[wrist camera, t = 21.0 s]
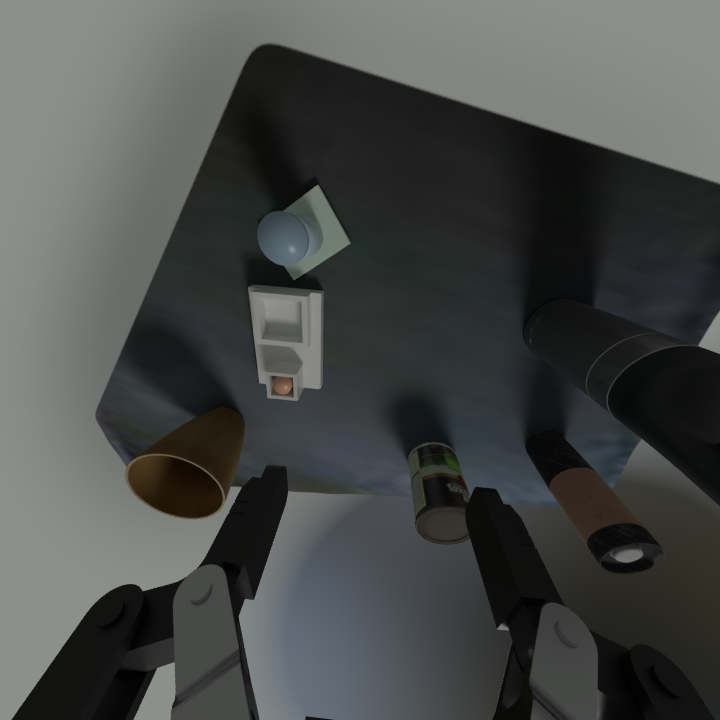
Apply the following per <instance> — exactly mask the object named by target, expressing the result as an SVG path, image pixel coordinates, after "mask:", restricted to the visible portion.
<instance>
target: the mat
mask: <svg viewBox="0 0 720 720" xmlns="http://www.w3.org/2000/svg"><path fill="white" fill-rule="evenodd" d="M283 212H288V213H291V214H297V215H303V216H309V217H311V218H313V219H315V220H316V221H317V222H318V223H319V225H320V226H321V228H322V231H323V244H322V246H321V248H320V250H319V251H318V252H317V253H315V254H313V255H311V256H308V257H306V258H304V259H301V260H300V261H299V262H297V263H295V264H292V265H288V266H284V267H285V268H286V269H287V271H288V272H289V274H290V275H291V277H292V278H293V280H296V279H297V278H299V277H300V276H302V275H303V274H305V273H306V272H308V271H309V270H311V269H312V268H314V267H315V266H317V265H318V264H320V263H321V262H323V261H325V260H326V259H328V258H329V257H331V256H332V255H334V254H335V253H337V252H338V251H340V250H341V249H343V248H344V247H346V246H347V245H349V244H350V243H351V242H350V240H349V238H348V236H347V235H346V233H345V231H344V229H343V227H342V226H341V224H340V222H339V220H338V218H337V217H336V215H335V213H334V211H333V209H332V207H331V206H330V204H329V202H328V200H327V198H326V197H325V195H324V193H323V191H322V189H321V188H320V186H319V185H317V186H315V187H314V188H313V189H311V190H310V191H309V192H307V193H306V194H305V195H303V196H302V197H301V198H300V199H298V200H297V201H296V202H294V203H293V204H292V205H290V206H289V207H288V208H286V209H285V210H284V211H283Z"/></svg>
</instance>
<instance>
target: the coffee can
mask: <svg viewBox="0 0 720 720" xmlns="http://www.w3.org/2000/svg"><path fill="white" fill-rule="evenodd" d="M408 464H409V470H410V478H411V487H412V495H413V502H414V512H415V520H416V521H415V525H416V526H415V527H416V530H417V532H418V534H419V535H420V536H421V537H422V538H424V539H425V540H427V541H429V542H432V543H436V544H457V543H461V542H464V541H466V540H468V539H470V536H469V532H468V529H467V526H466V520H465V511H466V507H467V505H468V502H469V500H470V495H469V492H468V489H467V486H466V483H465V480H464V478H463V475H462V472H461V469H460V465H459V462H458V459H457V455H456V453H455V451H454V450H453V449H452V448H451V447H450V446H448V445H446V444H444V443H440V442H427V443H423V444H420V445H418V446H417V447H415V448H414V449H413V450H412V451H411V452H410V454H409V457H408Z"/></svg>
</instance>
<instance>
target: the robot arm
mask: <svg viewBox="0 0 720 720" xmlns="http://www.w3.org/2000/svg"><path fill="white" fill-rule="evenodd" d="M524 340H525V343H526V345H527V346H528V347H529V348H530V349H531V350H532V351H533V352H534V353H536V354H537V355H538V356H539V357H540V358H542V359H543V360H544V361H545V362H547V363H548V364H549V365H550V366H552V367H553V368H554V369H555V370H556V371H558V372H559V373H560V374H561V375H563V376H564V377H565V378H566V379H568V380H569V381H570V382H571V383H573V384H574V385H575V386H576V387H578V388H579V389H580V390H581V391H583V392H584V393H585V394H586V395H588V396H589V397H590V398H591V399H593V400H594V401H595V402H597V403H598V404H599V405H600V406H602V407H603V408H604V409H605V410H607V411H608V412H609V413H610V414H612V415H613V416H614V417H615V418H616V419H618V420H619V421H620V422H621V423H623V424H624V425H625V426H627V427H628V428H629V429H630V430H632V431H633V432H634V433H635V434H637V435H638V436H639V437H641V438H642V439H643V440H644V441H646V442H647V443H648V444H649V445H650V446H652V447H653V448H654V449H655V450H657V451H658V452H659V453H660V454H661V455H663V456H664V457H665V458H666V459H667V460H668V461H670V462H671V463H672V464H673V465H674V466H675V467H676V468H678V469H679V470H680V471H681V472H683V474H685V475H686V476H687V477H688V478H689V479H690V480H691V481H692V482H694V483H695V484H696V485H697V486H698V487H699V488H700V489H701V490H702V491H703V492H705V493H706V494H707V495H708V496H709V497H710V498H711V499H712V500H713V501H715V502H716V503H717V504H718V505H719V506H720V354H718V353H715V352H712V351H710V350H707V349H704V348H701V347H699V346H696V345H694V344H691V343H688V342H686V341H683V340H680V339H678V338H675V337H672V336H670V335H666V334H664V333H661V332H658V331H656V330H653V329H650V328H648V327H645V326H642V325H640V324H637V323H634V322H632V321H629V320H626V319H624V318H621V317H618V316H616V315H613V314H610V313H608V312H605V311H602V310H600V309H597V308H595V307H592V306H589V305H586V304H584V303H581V302H578V301H575V300H572V299H557V300H554V301H550V302H548V303H546V304H544V305H543V306H541V307H540V308H538V309H537V310H536V311H535V312H534V313H533V314H532V315H531V316H530V318H529V319H528V321H527V323H526V325H525V328H524ZM287 496H288V482H287V470H286V467H285V466H277V465H267V466H266V468H265V470H264V472H263V474H262V477H261V478H257V477H252V478H251V479H250V480H249V481H248V482H247V483H246V484H245V485H244V486H243V487H242V488H241V491H240V492H239V494H238V496H237V498H236V500H235V503H234V504H233V505H232V507H231V509H230V511H229V514H228V515H227V517H226V519H225V521H224V523H223V525H222V527H221V528H220V530H219V532H218V534H217V536H216V538H215V540H214V542H213V544H212V546H211V548H210V549H209V551H208V553H207V556H206V557H205V559H204V560H203V562H202V563H201V564H200V565H199V567H198V568H197V569H196V570H195V571H193V572H192V573H191V574H189V575H188V576H187V577H185V578H184V579H182V580H180V581H178V582H175V583H172V584H169V585H165V586H161V587H157V588H154V589H150V590H147V591H142V589H141V588H140V587H139V586H137V585H134V584H127V585H122V586H120V587H117V588H115V589H113V590H111V591H110V592H108V593H107V594H105V595H104V596H103V597H101V598H100V599H99V600H98V601H97V602H96V603H95V604H94V605H93V606H92V607H91V608H90V610H89V611H88V612H87V613H86V615H85V616H84V618H83V619H82V620H81V622H80V623H79V625H78V626H77V628H76V629H75V630H74V632H73V633H72V635H71V636H70V638H69V639H68V640H67V642H66V643H65V645H64V646H63V647H62V649H61V650H60V652H59V653H58V655H57V656H56V657H55V659H54V660H53V662H52V663H51V664H50V666H49V667H48V669H47V670H46V672H45V673H44V674H43V676H42V677H41V679H40V680H39V681H38V683H37V684H36V686H35V687H34V689H33V690H32V691H31V693H30V694H29V696H28V697H27V698H26V700H25V701H24V703H23V704H22V706H21V707H20V708H19V710H18V711H17V713H16V714H15V716H14V717H13V719H12V720H133V719H134V717H135V715H136V713H137V711H138V709H139V706H140V704H141V702H142V700H143V698H144V696H145V693H146V691H147V689H148V687H149V685H150V682H151V680H152V678H153V676H154V674H155V671H156V669H157V668H158V667H161V666H164V665H167V664H170V663H173V662H175V682H176V694H175V701H174V703H173V705H172V710H171V720H259V715H258V710H257V705H256V700H255V696H254V692H253V688H252V683H251V678H250V673H249V668H248V664H247V658H246V653H245V648H244V642H243V637H242V633H241V627H240V622H239V614H240V611H241V608H242V605H243V603H244V600H245V599H251V600H254V598H255V595H256V591H257V589H258V586H259V583H260V580H261V577H262V574H263V571H264V567H265V565H266V562H267V559H268V556H269V553H270V550H271V547H272V544H273V541H274V538H275V535H276V532H277V529H278V526H279V523H280V520H281V517H282V514H283V511H284V508H285V505H286V501H287ZM465 520H466V526H467V529H468V532H469V536H470V539H471V543H472V546H473V549H474V553H475V556H476V559H477V563H478V566H479V569H480V573H481V576H482V580H483V583H484V586H485V590H486V593H487V596H488V600H489V603H490V607H491V610H492V613H493V617H494V620H495V624H496V627H497V629H500V630H509V631H510V635H511V638H512V641H513V642H512V644H511V647H510V651H509V655H508V660H507V664H506V668H505V672H504V676H503V681H502V685H501V689H500V694H499V698H498V702H497V706H496V710H495V713H494V716H493V718H492V720H715V719H714V717H713V716H712V714H711V713H710V711H709V710H708V708H707V707H706V705H705V704H704V702H703V701H702V699H701V698H700V696H699V695H698V693H697V691H696V690H695V688H694V687H693V685H692V684H691V683H690V681H689V680H688V679H687V677H686V676H685V675H684V673H683V672H682V671H681V670H680V669H679V668H678V667H677V666H676V665H675V664H674V663H673V662H672V661H671V660H670V659H668V658H667V657H666V656H665V655H663V654H662V653H661V652H659V651H657V650H655V649H654V648H652V647H650V646H647V645H644V644H638V645H635V646H633V647H632V648H630V649H627V648H625V647H623V646H621V645H619V644H617V643H615V642H613V641H611V640H609V639H607V638H605V637H603V636H600V635H598V634H596V633H595V632H593V631H591V630H589V629H588V628H587V627H586V626H585V624H584V623H583V622H582V621H581V619H580V618H579V617H578V616H576V615H575V613H573V612H572V611H571V610H569V609H568V608H567V607H566V606H565V604H564V603H563V601H562V600H561V598H560V596H559V594H558V592H557V590H556V588H555V586H554V584H553V582H552V580H551V578H550V576H549V574H548V572H547V570H546V568H545V566H544V563H543V561H542V559H541V557H540V555H539V553H538V551H537V549H535V545H534V543H533V541H532V539H531V537H530V536H529V535H528V531H527V529H526V527H525V525H524V523H523V521H522V519H521V517H520V516H519V515H518V514H517V513H516V511H515V510H514V509H513V508H512V507H511V506H510V505H506V504H503V502H502V500H501V497H500V495H499V493H498V492H497V490H495V489H491V488H482V487H475V488H474V490H473V493H472V495H471V498H470V500H469V502H468V505H467V507H466V511H465ZM306 720H331V719H323V718H315V717H307V716H306Z"/></svg>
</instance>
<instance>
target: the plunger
mask: <svg viewBox="0 0 720 720" xmlns="http://www.w3.org/2000/svg"><path fill="white" fill-rule="evenodd" d="M292 387H293V378H291V377H281V376H277V377H276V379H275V380H274V382H273V388H274V390H275V391H276V392H277V393H279V394H287V393H289V392H290V390H291V388H292Z"/></svg>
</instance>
